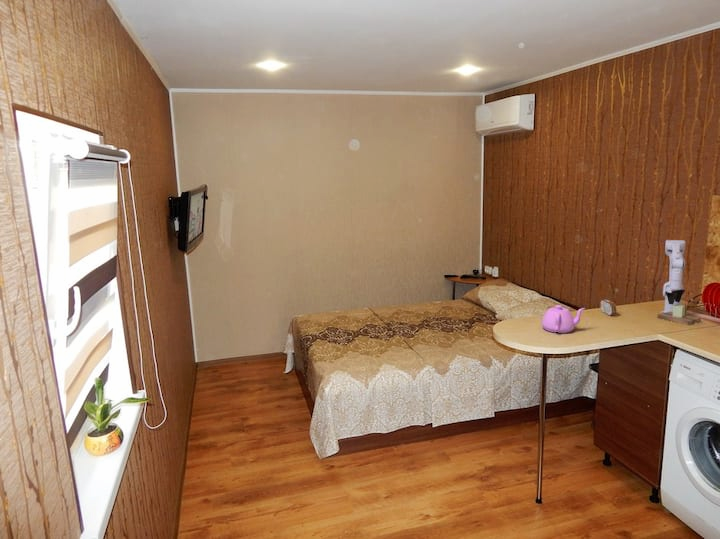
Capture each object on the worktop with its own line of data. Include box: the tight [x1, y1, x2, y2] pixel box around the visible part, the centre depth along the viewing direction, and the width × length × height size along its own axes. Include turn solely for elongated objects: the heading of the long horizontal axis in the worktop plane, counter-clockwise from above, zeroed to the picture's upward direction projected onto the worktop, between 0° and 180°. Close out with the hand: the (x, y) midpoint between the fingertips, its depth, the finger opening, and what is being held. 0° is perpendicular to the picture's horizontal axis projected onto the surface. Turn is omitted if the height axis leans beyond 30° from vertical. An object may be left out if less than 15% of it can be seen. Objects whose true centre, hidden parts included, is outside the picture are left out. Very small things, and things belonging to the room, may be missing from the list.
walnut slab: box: [657, 312, 701, 326], centre depth 268 cm, size 11×17×3 cm, turn 23°
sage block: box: [673, 304, 686, 318], centre depth 268 cm, size 4×4×6 cm
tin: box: [600, 298, 617, 317], centre depth 286 cm, size 15×3×8 cm, turn 179°
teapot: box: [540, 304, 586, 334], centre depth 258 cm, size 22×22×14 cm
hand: (674, 303), depth 270 cm, fingers open, 7 cm apart
